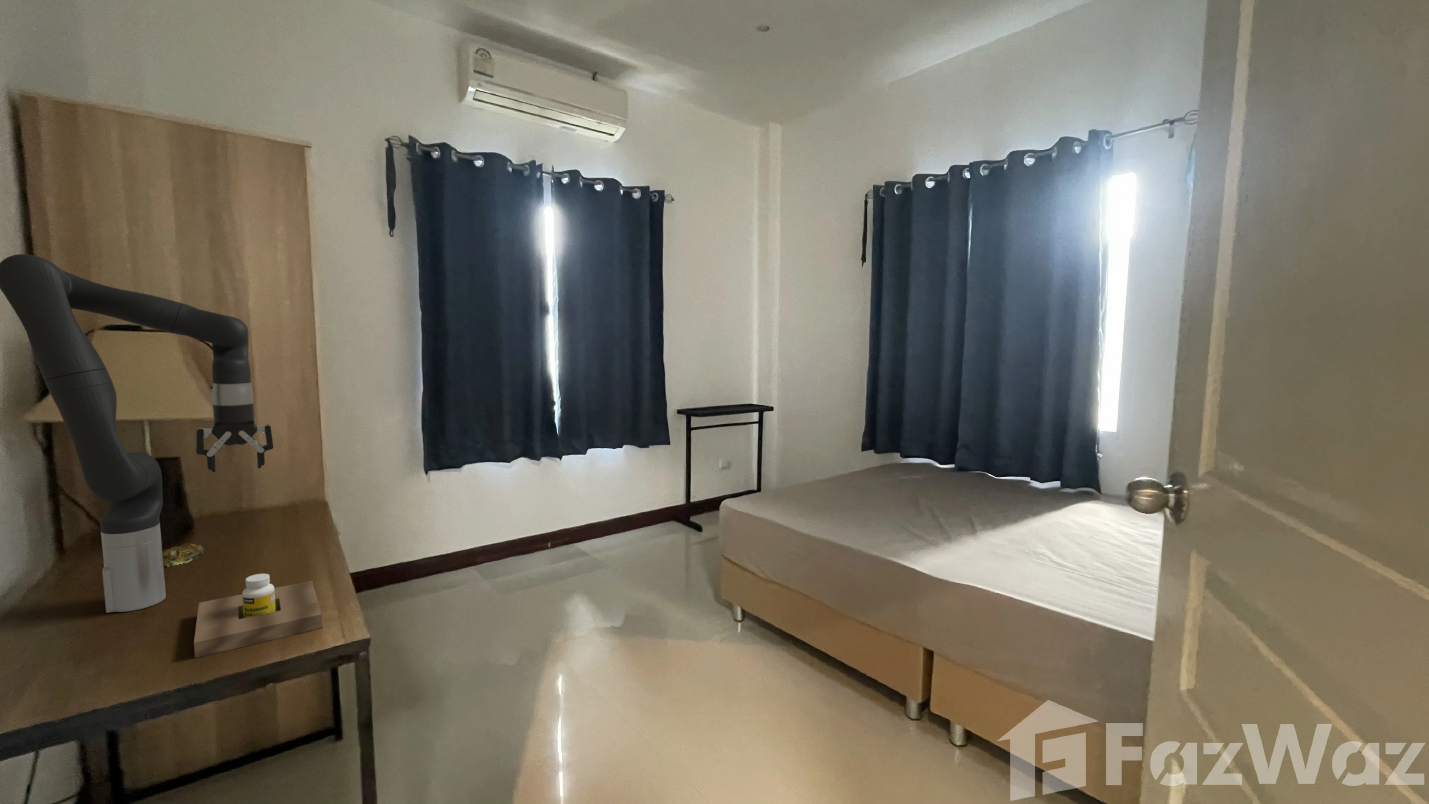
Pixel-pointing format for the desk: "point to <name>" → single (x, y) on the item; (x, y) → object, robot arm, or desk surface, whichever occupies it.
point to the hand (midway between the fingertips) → (237, 469)
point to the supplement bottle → (258, 596)
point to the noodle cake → (181, 554)
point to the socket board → (255, 620)
